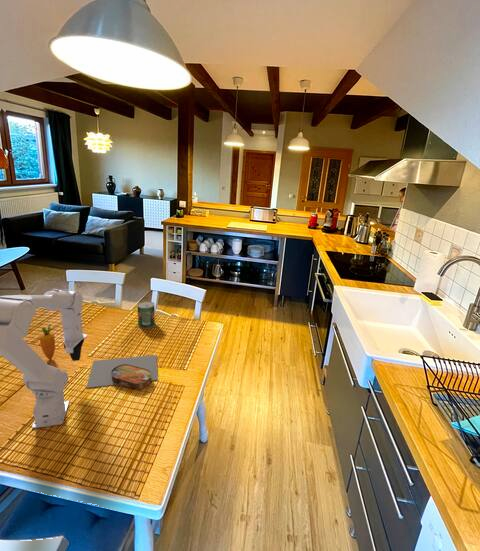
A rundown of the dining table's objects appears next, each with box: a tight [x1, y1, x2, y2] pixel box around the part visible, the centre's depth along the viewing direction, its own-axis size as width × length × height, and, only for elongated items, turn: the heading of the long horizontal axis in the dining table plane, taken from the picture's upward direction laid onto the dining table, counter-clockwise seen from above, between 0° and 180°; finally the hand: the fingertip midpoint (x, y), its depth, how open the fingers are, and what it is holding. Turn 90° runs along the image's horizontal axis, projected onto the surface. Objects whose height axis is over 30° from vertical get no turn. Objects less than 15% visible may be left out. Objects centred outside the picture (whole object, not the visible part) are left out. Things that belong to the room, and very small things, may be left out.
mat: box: [86, 354, 159, 389], centre depth 118 cm, size 16×24×1 cm, turn 106°
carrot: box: [39, 324, 56, 360], centre depth 119 cm, size 5×5×15 cm
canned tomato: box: [136, 300, 156, 330], centre depth 150 cm, size 8×8×11 cm
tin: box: [111, 364, 152, 390], centre depth 113 cm, size 15×3×8 cm
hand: (76, 359), depth 107 cm, fingers closed
